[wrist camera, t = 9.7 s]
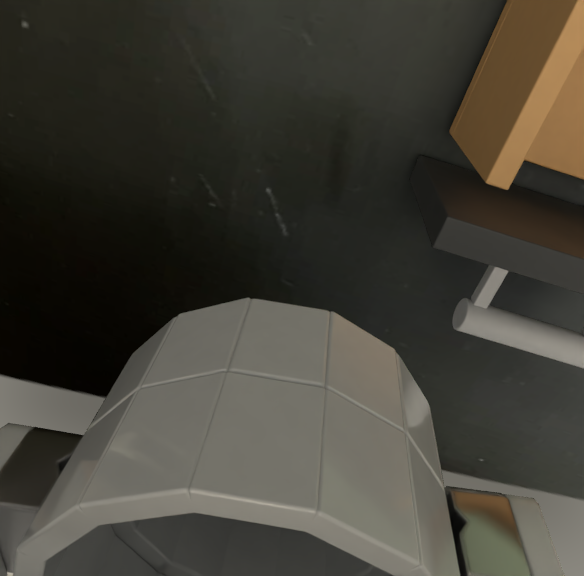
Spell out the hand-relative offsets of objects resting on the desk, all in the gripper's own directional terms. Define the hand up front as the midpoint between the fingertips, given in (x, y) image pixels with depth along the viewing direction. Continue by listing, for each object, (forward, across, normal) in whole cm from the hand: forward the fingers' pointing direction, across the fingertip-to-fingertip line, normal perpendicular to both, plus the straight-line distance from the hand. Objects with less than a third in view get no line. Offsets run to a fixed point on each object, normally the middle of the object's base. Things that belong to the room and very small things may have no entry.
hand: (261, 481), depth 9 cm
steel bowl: (+2, 0, 0) cm, 2 cm away
